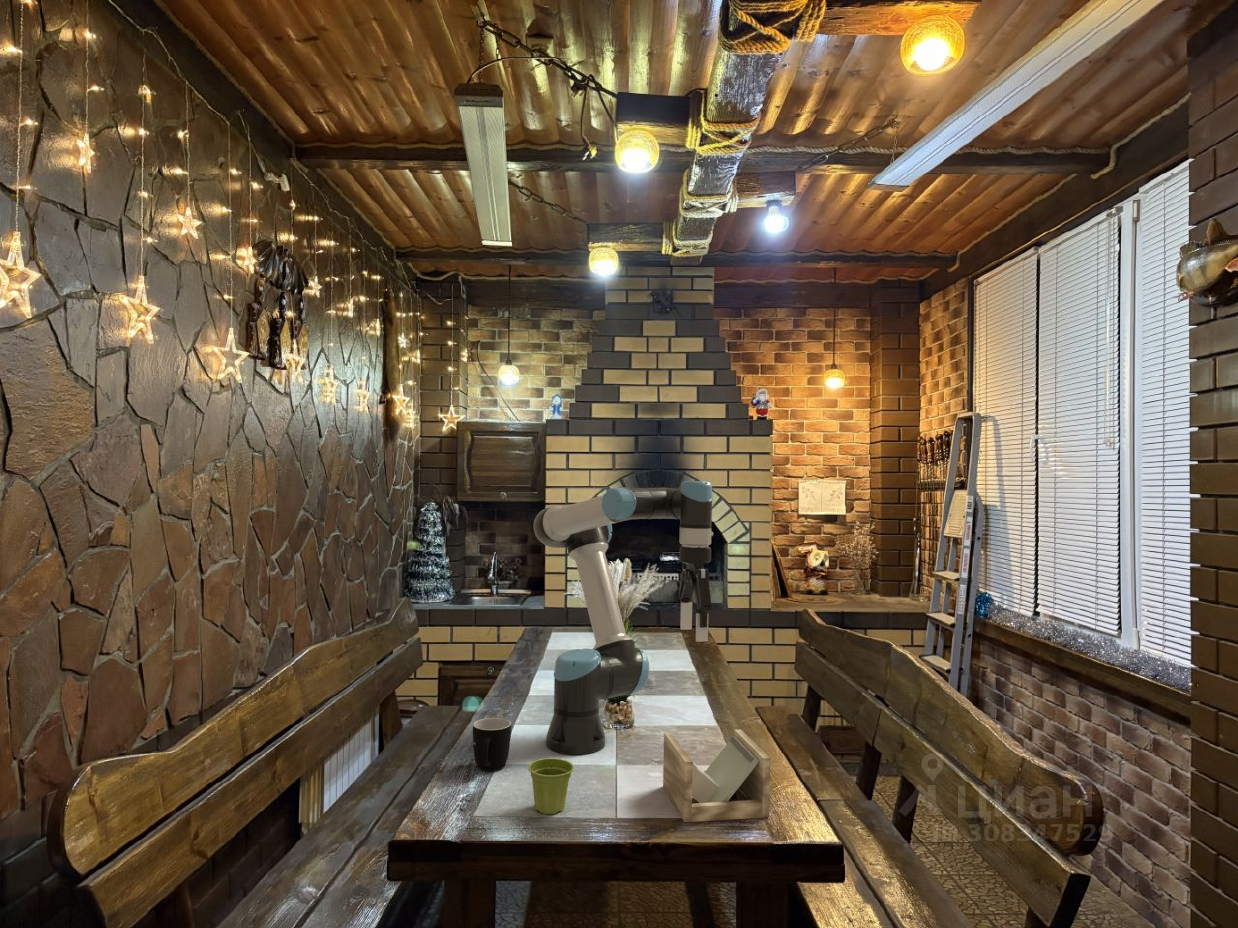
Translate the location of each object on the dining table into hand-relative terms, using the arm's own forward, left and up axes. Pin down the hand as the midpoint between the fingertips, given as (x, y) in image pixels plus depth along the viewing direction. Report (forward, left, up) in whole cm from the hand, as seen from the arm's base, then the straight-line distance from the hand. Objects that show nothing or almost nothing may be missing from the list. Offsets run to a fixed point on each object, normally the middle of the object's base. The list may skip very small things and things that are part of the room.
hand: (693, 635), depth 184 cm
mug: (-47, +6, -32) cm, 57 cm away
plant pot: (-35, -17, -32) cm, 50 cm away
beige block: (-1, -18, -30) cm, 35 cm away
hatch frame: (0, -18, -32) cm, 36 cm away
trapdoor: (+3, -18, -26) cm, 32 cm away
